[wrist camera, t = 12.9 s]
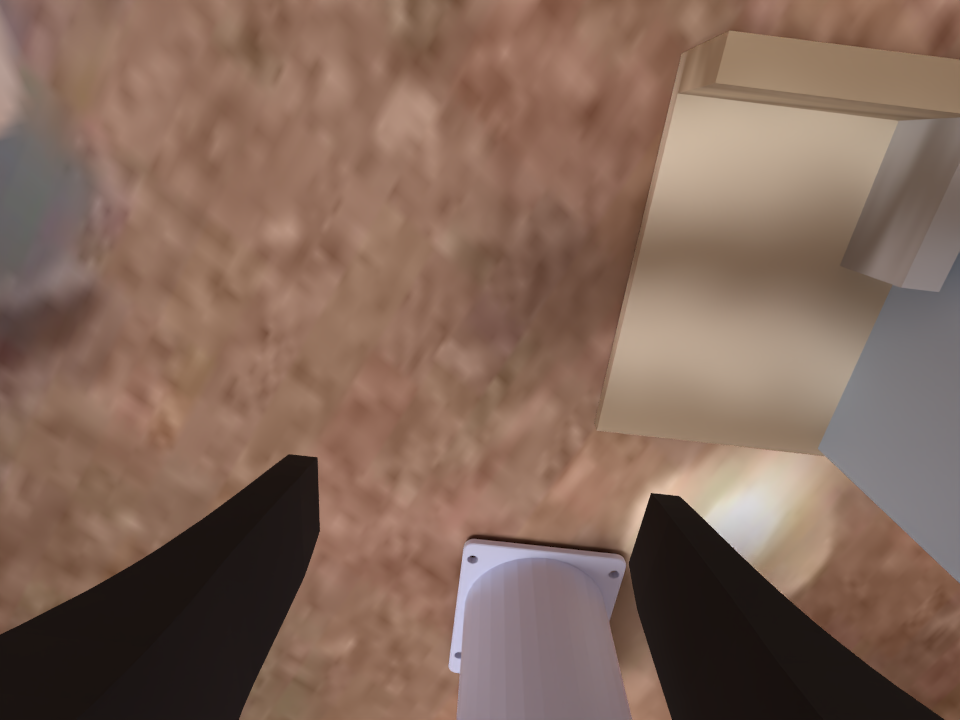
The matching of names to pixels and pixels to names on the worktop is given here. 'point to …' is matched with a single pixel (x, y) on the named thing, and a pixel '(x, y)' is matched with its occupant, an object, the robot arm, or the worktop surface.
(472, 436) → the worktop surface
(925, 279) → the book rack
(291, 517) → the robot arm
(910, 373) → the book
